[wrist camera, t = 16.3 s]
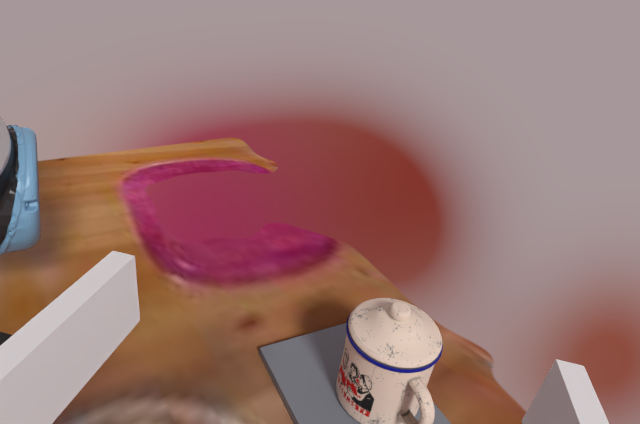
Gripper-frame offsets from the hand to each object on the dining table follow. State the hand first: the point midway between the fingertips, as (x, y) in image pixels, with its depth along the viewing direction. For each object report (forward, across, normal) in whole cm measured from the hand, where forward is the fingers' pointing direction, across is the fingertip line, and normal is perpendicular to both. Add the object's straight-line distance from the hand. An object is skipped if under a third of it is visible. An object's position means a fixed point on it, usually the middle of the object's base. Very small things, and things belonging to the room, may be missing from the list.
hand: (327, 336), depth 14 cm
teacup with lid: (+20, +6, -27) cm, 34 cm away
